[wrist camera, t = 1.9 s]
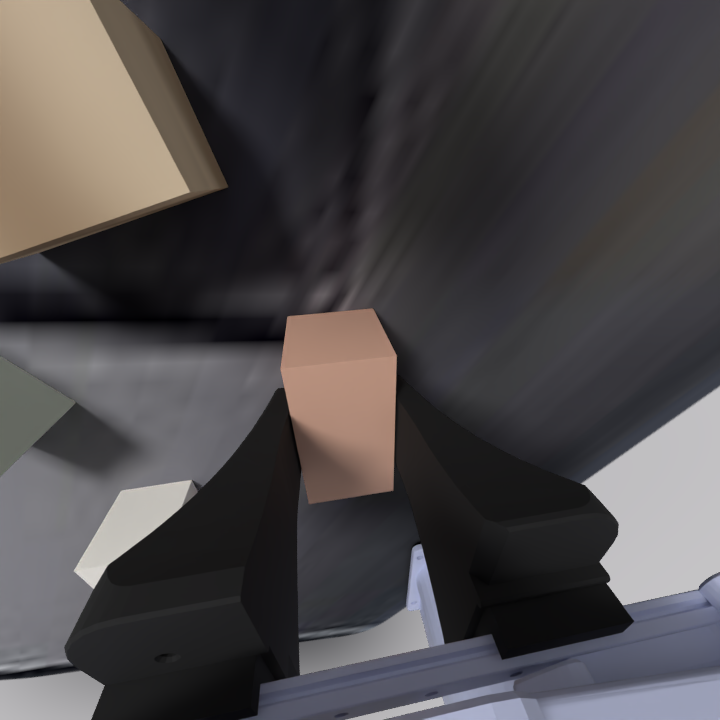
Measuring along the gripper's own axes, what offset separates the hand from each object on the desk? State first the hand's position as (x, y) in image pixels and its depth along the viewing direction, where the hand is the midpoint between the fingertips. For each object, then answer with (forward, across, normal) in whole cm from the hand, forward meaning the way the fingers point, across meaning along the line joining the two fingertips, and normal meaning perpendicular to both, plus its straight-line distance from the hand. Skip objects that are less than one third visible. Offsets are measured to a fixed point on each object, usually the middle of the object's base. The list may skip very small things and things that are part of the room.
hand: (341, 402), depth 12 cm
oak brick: (+2, +6, -8) cm, 10 cm away
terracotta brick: (+2, 0, 0) cm, 2 cm away
